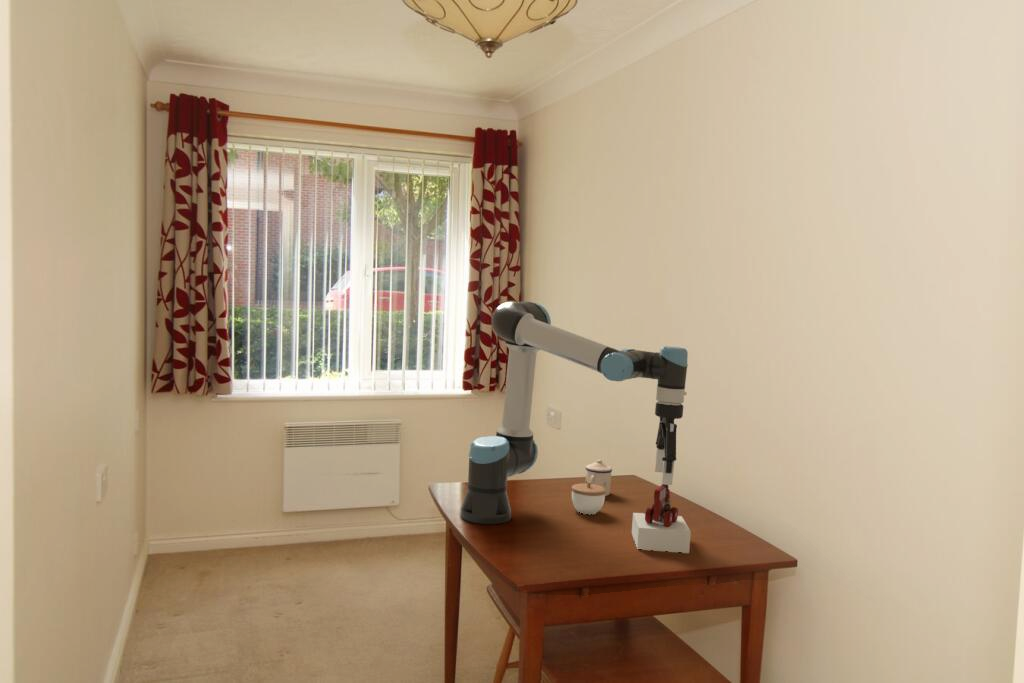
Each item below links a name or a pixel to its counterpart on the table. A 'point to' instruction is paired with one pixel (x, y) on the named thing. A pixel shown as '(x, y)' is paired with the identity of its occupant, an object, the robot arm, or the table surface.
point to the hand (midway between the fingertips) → (663, 478)
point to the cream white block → (660, 534)
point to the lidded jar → (588, 497)
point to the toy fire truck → (662, 507)
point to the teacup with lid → (599, 475)
